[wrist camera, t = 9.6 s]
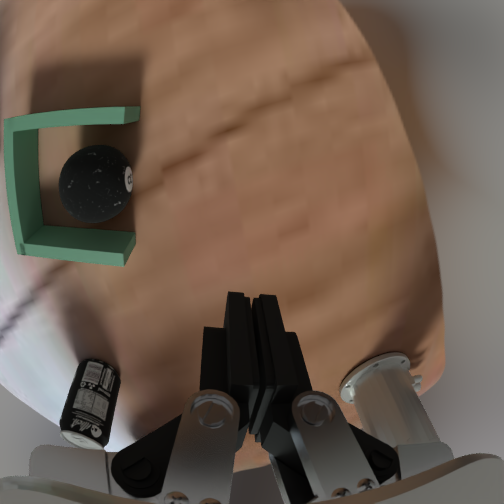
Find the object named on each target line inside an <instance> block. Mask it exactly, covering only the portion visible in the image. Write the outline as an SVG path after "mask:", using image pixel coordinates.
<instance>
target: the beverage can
mask: <svg viewBox="0 0 504 504" xmlns="http://www.w3.org/2000/svg"><path fill="white" fill-rule="evenodd" d="M120 384H121V380H120V377H119V376H118V374H117V372H116V371H115V370H114V369H113V368H112V367H111V366H110V365H108V364H107V363H105V362H102V361H99V360H95V359H89V360H86V361H83V362H81V363H80V364H79V365H78V368H77V370H76V373H75V376H74V379H73V382H72V384H71V387H70V390H69V393H68V396H67V399H66V402H65V406H64V409H63V412H62V415H61V419H60V428H61V432H60V436H61V437H62V438H63V439H64V440H65V441H66V442H68V443H69V444H71V445H73V446H75V447H77V448H82V449H99V450H104V447H105V446H106V445H107V444H108V442H109V437H110V432H111V426H112V421H113V416H114V411H115V406H116V402H117V397H118V392H119V388H120Z"/></svg>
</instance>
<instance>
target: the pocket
mask: <svg viewBox="0 0 504 504" xmlns="http://www.w3.org/2000/svg"><path fill="white" fill-rule="evenodd" d="M139 116H140V106H125V107H95V108H79V109H68V110H58V111H49V112H41V113H34V114H28V115H22V116H17V117H12V118H7V119H4V163H5V178H6V189H7V197H8V205H9V212H10V218H11V224H12V230H13V235H14V240H15V245H16V249H17V254H21V255H28V256H36V257H44V258H52V259H60V260H68V261H77V262H86V263H95V264H104V265H113V266H123V267H124V266H125V264H126V262H127V260H128V258H129V256H130V254H131V252H132V250H133V248H134V246H135V244H136V239H135V232H125V231H113V230H100V229H87V228H74V227H60V226H47V225H44V223H43V216H42V208H41V198H40V187H39V170H38V128H48V127H59V126H73V125H93V124H126V123H130V122H135V121H139Z"/></svg>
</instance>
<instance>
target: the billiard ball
mask: <svg viewBox="0 0 504 504" xmlns="http://www.w3.org/2000/svg"><path fill="white" fill-rule="evenodd" d="M132 187H133V176H132V170H131V167H130V164H129V162H128V160H127V159H126V157H125V156H124V155H123V154H122V153H121V152H120V151H119V150H117V149H115V148H113V147H111V146H107V145H92V146H88V147H85V148H83V149H81V150H79V151H77V152H76V153H74V154H73V155H72V156H71V157H70V158H69V159H68V160H67V161H66V163H65V164H64V166H63V168H62V171H61V174H60V178H59V194H60V198H61V201H62V204H63V206H64V207H65V209H66V210H67V212H68V213H69V214H70V215H71V216H73V217H74V218H75V219H77V220H79V221H82V222H86V223H99V222H103V221H106V220H109V219H111V218H113V217H115V216H116V215H117V214H119V213H120V212H121V211H122V210H123V209H124V208H125V206H126V205H127V203H128V201H129V199H130V196H131V192H132Z"/></svg>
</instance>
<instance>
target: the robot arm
mask: <svg viewBox="0 0 504 504" xmlns="http://www.w3.org/2000/svg"><path fill="white" fill-rule="evenodd" d="M409 369H410V361H409V359H408V357H407V356H406V355H405V354H403V353H399V352H393V353H387V354H383V355H380V356H377V357H375V358H373V359H370V360H368V361H367V362H365V363H363V364H361V365H360V366H359V367H357V368H356V369H354V370H353V371H352V372H351V373H350V374H349V375H348V376H347V377H346V378H345V379H344V381H343V382H342V384H341V386H340V390H339V392H340V396H341V398H342V400H343V401H345V402H347V403H352V404H354V405H355V408H356V410H357V413H358V415H359V418H360V421H361V423H362V426H363V429H364V431H365V432H364V431H362V430H360V429H358V428H357V427H355V426H353V425H351V424H350V423H348V422H347V420H346V418H345V417H344V415H343V413H342V411H341V409H340V407H339V405H338V404H337V402H336V401H335V399H333V398H332V397H331V396H329V395H328V394H325V393H323V392H319V391H313V390H312V386H311V383H310V379H309V376H308V372H307V369H306V365H305V362H304V358H303V355H302V351H301V348H300V344H299V341H298V337H297V335H296V333H295V332H285V329H284V325H283V321H282V317H281V313H280V309H279V305H278V301H277V297H276V295H265V294H260V295H259V298H254V299H253V303H252V308H251V304H250V298H249V297H244V293H240V292H229V291H228V295H227V303H226V311H225V319H224V327H223V328H215V327H204V332H203V345H202V359H201V375H200V391H199V392H196V393H194V394H193V395H192V396H191V397H190V398H188V400H187V402H186V404H185V407H184V410H183V413H182V414H181V415H179V416H178V417H176V418H175V419H173V420H171V421H170V422H168V423H167V424H165V425H163V426H162V427H160V428H158V429H157V430H155V431H153V432H152V433H150V434H148V435H147V436H145V437H143V438H142V439H140V440H138V441H136V442H135V443H133V444H131V445H129V446H128V447H126V448H124V449H122V450H121V451H119V452H106V451H105V450H99V449H82V448H71V447H62V446H54V445H40V446H38V447H36V448H35V449H34V450H33V451H32V453H31V456H30V463H29V476H9V477H4V478H1V479H0V504H229V497H230V490H231V482H232V475H233V467H234V459H235V452H237V451H238V450H239V449H240V448H241V447H242V444H243V441H244V438H245V435H246V432H247V429H248V428H249V434H255V442H261V446H262V448H264V449H265V450H266V451H268V453H269V459H270V462H271V465H272V468H273V471H274V474H275V477H276V480H277V483H278V487H279V489H280V492H281V495H282V498H283V501H284V504H504V461H503V460H502V459H501V458H500V457H498V456H496V455H493V454H485V453H476V454H469V455H465V456H462V457H458V458H455V459H454V456H453V453H452V450H451V448H450V447H449V446H448V445H447V444H445V443H443V442H441V441H440V439H439V437H438V435H437V433H436V431H435V429H434V427H433V425H432V423H431V421H430V419H429V417H428V415H427V413H426V411H425V409H424V407H423V405H422V403H421V401H420V399H419V397H418V395H417V394H416V392H417V391H419V390H420V388H421V384H420V382H421V381H422V376H421V375H416V376H413V377H412V376H411V374H410V372H409Z"/></svg>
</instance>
